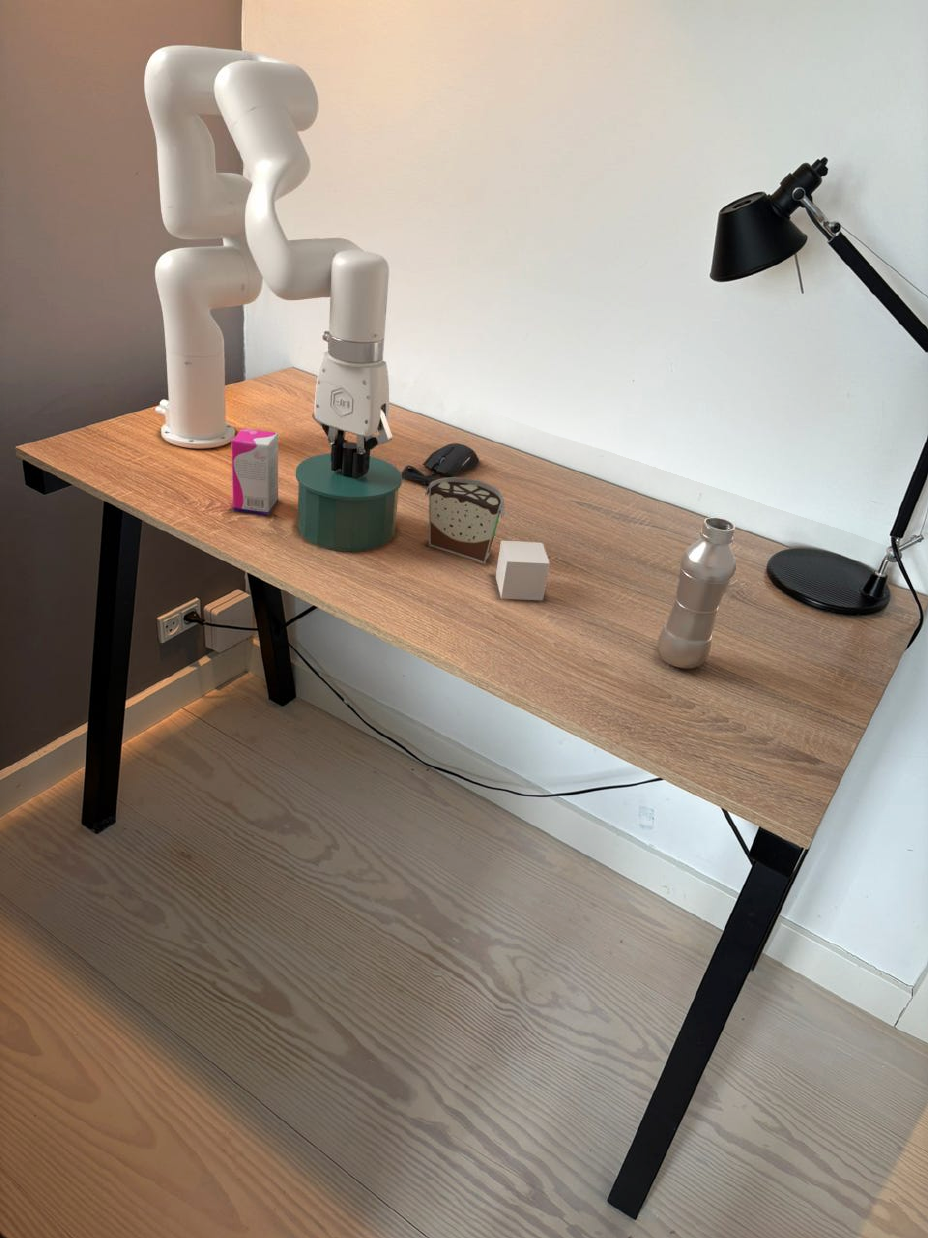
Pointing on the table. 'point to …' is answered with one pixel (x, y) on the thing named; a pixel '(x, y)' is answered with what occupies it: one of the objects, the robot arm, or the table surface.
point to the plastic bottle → (698, 595)
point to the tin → (346, 521)
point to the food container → (464, 516)
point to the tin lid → (348, 477)
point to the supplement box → (255, 471)
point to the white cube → (522, 570)
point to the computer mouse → (444, 463)
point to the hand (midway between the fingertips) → (349, 470)
